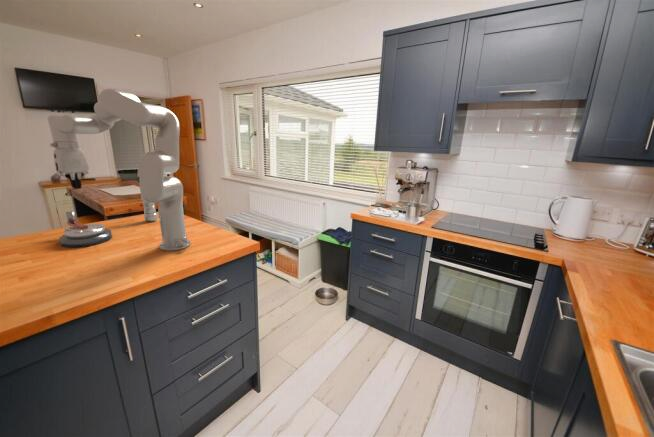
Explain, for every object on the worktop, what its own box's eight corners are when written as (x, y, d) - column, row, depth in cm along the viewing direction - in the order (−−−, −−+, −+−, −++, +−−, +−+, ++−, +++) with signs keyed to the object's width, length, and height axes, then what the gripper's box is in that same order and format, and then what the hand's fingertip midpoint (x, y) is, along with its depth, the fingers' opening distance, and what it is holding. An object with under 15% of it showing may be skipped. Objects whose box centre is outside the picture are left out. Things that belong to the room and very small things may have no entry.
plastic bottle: (153, 222, 154) (148, 188, 148) (142, 222, 154) (136, 187, 148) (160, 219, 160) (156, 186, 154) (149, 219, 160) (144, 185, 154)
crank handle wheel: (74, 241, 116) (70, 222, 114) (52, 232, 124) (48, 214, 122) (111, 232, 128) (108, 214, 126) (89, 225, 136) (85, 208, 134)
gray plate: (119, 238, 129) (118, 232, 129) (71, 251, 114) (70, 244, 113) (100, 231, 138) (99, 225, 137) (53, 242, 122) (51, 236, 121)
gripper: (49, 146, 108) (61, 191, 113) (92, 146, 121) (101, 186, 126) (38, 146, 111) (51, 190, 116) (82, 145, 124) (91, 185, 129)
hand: (77, 188), depth 121 cm, fingers closed
